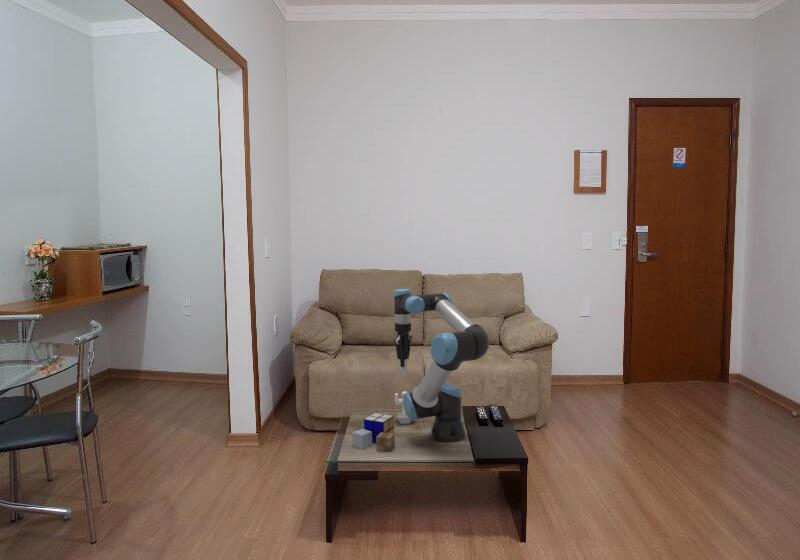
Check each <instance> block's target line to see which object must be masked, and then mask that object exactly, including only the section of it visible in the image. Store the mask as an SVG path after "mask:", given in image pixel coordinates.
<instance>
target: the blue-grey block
mask: <svg viewBox="0 0 800 560" xmlns="http://www.w3.org/2000/svg"><path fill="white" fill-rule="evenodd" d="M351 436H352V437H351V440H352V441H351V442H352V446H353V447H355V448H358V449H361V450H363V449H366V448H369V447H371V446H373V443H372V432H371V431H368V430H365V429H364V428H360V429H358V430H355V431H352V435H351Z"/></svg>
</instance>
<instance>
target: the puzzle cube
mask: <svg viewBox="0 0 800 560" xmlns="http://www.w3.org/2000/svg"><path fill="white" fill-rule="evenodd" d="M363 429H365V430H368V431H371V432H372V444H373V443H374V444H376V437H377V436H378V435H379V434H380V433H381V432H385V433H394V434H395V416H394V415H390V414H384V413H383V414H382V413H377V412H374V413H372V414H371V415H370V416H367V417H366V418H364V419H363Z"/></svg>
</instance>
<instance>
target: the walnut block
mask: <svg viewBox="0 0 800 560" xmlns="http://www.w3.org/2000/svg"><path fill="white" fill-rule="evenodd" d="M375 444H376V451H377V452H387V453H390V452H392V451H393V450H394V449H395V445H396V444H395V432H394V433H385V432H381V433H380V434H379V435H378V436H377V437H376V443H375Z"/></svg>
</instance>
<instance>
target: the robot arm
mask: <svg viewBox="0 0 800 560" xmlns="http://www.w3.org/2000/svg"><path fill="white" fill-rule="evenodd" d="M393 292H394V293H393V294H394V295H393V302H394V307H393V308H394V315H393V316H394V322H395V323H394V331H395V332H396V333H397V335H396V339H394V341H393V342H394V344H395V350H396V351H395V352H396V356H397V357H396V359H398V361H399V363H400V364H399V365H400V366H399V368H400V372H399V373H400V374H403V375H406V374H408V360H409V359H410V356H411V355H410V354H411V353H410V352H411V344H412V343H411V342H412V337H413V336H412V335H410V332H411V331H412V323H411V322H412V314H417V315H418V314H420V313H424V312H435V313H436V314H437V315H438V316H439V317H440V318H441V319H442V320H443V321H444V322H445V323H447V325H449V326H450V327H451V328H452V329H453V330H454V331H453V332H443V333H438V334H437V335H435V336H434V337H433V338H432V341H431V344H430V346H431V348H430V355H431V358H432V360H433V361H431V364H430V365H429V368H428V369H427V371H426V373H425V375H424V376H423V378H422V380H421V382H420V384H417V385H415V386H414V388H413V389H412V391H410V392H409V391H406V392H407V393H405V394H404V396H403V406H404V410H405V413H406V415H407V417H408V418H409V419H411V421H412V420H419V419H420V420H421V419H425V418H432V417H434V422H433V425H432V429H431V431H430V432H431V433H430V434H431V438H432V439H434V440H435V441H439V442H443V443H444V442H445V443H446V442H447V443H454V442H459V441H462V440H463V439H465V438H466V430H465V427H464V424H463V420H462V391H461V388H460V387H459V386H457V385H455V384H451V383H446V382H447V380H448V378H449V377H450V375H451V373H452V372H454V371H456V370H458V369H459V367H461V365H462V363H464V362H468V361H469V362H470V361H476V360H479V359H481V358H483V357H484V356H485V355H486V354H487V352H488V351H489V347H490V337H489V335H488V333H487V331H486V330H485V329H484V328H483V326H481V325H480V324H477V323H474V322H473V321H471V319H469V318H468V317H467V316H466V315H465V314H464V313H463V312H461V310H459V309H458V308H457V307H456V306H455V305H454V304H453V301H452V298H451V295H450V294H449V293H444V292H443V293H442V292H441V293H431V294H416V295H413V294H412V293H411V289H410V288H398V289H395V290H394V291H393Z"/></svg>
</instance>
